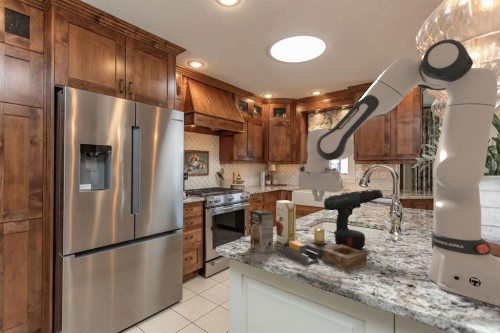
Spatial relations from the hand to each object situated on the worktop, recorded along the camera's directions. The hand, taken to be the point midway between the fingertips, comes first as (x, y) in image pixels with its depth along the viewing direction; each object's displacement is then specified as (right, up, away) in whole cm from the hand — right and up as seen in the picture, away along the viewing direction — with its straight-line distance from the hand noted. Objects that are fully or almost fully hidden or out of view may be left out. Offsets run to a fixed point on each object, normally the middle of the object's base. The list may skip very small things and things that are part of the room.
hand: (318, 201), depth 101 cm
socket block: (+1, -21, +1) cm, 21 cm away
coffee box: (-23, -21, +4) cm, 32 cm away
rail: (-9, -21, -6) cm, 24 cm away
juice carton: (-11, -21, +13) cm, 27 cm away
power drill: (+16, -21, +4) cm, 27 cm away
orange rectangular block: (-10, -20, -5) cm, 23 cm away
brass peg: (+1, -21, +1) cm, 21 cm away
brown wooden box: (+6, -21, -11) cm, 24 cm away
